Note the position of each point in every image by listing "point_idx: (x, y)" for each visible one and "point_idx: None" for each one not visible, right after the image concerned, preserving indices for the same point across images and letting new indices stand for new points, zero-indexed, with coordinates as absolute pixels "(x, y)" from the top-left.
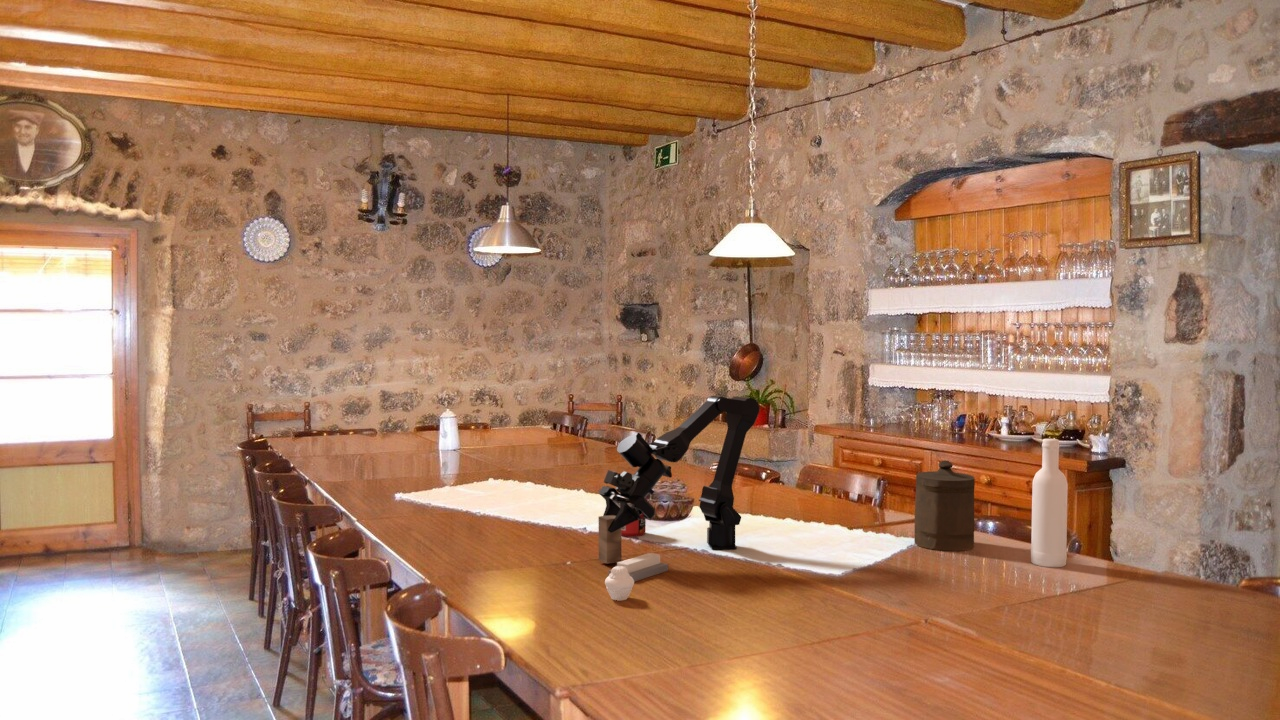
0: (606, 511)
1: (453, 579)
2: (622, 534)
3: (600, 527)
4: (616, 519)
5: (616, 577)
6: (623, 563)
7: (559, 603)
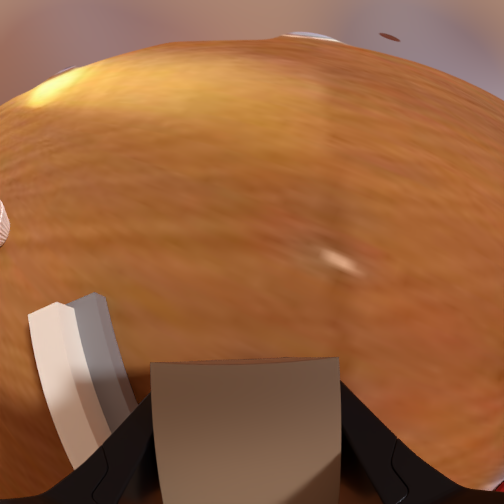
0: (382, 468)
1: (285, 49)
2: (501, 485)
3: (283, 360)
4: (110, 439)
5: None
6: (41, 314)
7: (53, 137)
